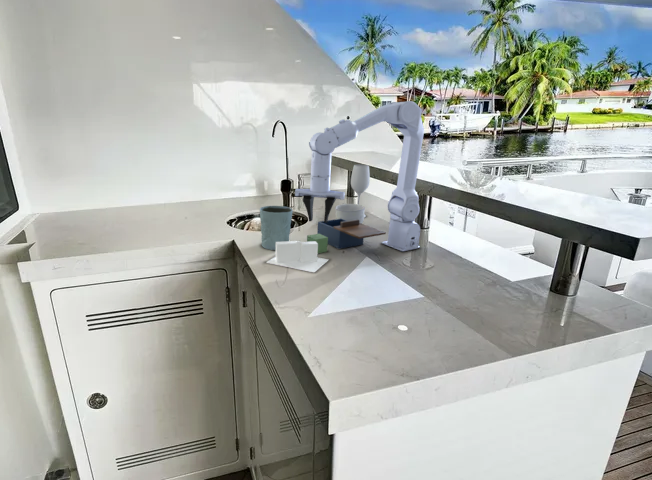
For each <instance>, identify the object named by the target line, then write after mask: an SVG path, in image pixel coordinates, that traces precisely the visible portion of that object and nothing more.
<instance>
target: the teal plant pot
mask: <svg viewBox="0 0 652 480" xmlns="http://www.w3.org/2000/svg"><path fill="white" fill-rule="evenodd" d="M293 212H294V211H293V209H292V208H291V207H289V206H284V205H265V206H261V207H260V208H259V219H260V220H259V221H260V234H261V237H260V238H261V239H260V240H261V247H263V248H264V249H265V250H270V251H276V242H285V241H290V234H291V227H292V226H291V224H292V219H293Z"/></svg>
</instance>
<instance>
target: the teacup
mask: <svg viewBox="0 0 652 480" xmlns="http://www.w3.org/2000/svg"><path fill="white" fill-rule="evenodd" d="M334 208H335V219H344V220H347V221H350V220H357V219H358V220H360V221H359V223H361V224H363V223H364V220H365V217H364V215H365V209H366V207H365V206H364V205H362V204H359V205H358V204H357V203H345V202H344V203H342V204H338V205H336V206H335V207H334Z"/></svg>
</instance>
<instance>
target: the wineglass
mask: <svg viewBox="0 0 652 480" xmlns="http://www.w3.org/2000/svg"><path fill="white" fill-rule="evenodd" d="M370 176H371V175H370V166H369V165H368V164H354V165H353V167H352V171H351V177H350V186H351V188H352V190H353V191H354V192H355V193H356V194H357V203H356V204H358V205H360V199H361V195H362V194H363V193H364V192H365V191H367V189H369V186H370V181H371V180H370V179H371V177H370ZM366 217H367V215H366V214H364V218H366Z"/></svg>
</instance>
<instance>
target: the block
mask: <svg viewBox="0 0 652 480" xmlns="http://www.w3.org/2000/svg"><path fill="white" fill-rule="evenodd" d="M310 241H316V242H317V243H318V253H317V254H322V253H327V252H328V245H329V244H328V237H326V236H324V235H321V234H317V233H314V234H308V235H306V242H310Z"/></svg>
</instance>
